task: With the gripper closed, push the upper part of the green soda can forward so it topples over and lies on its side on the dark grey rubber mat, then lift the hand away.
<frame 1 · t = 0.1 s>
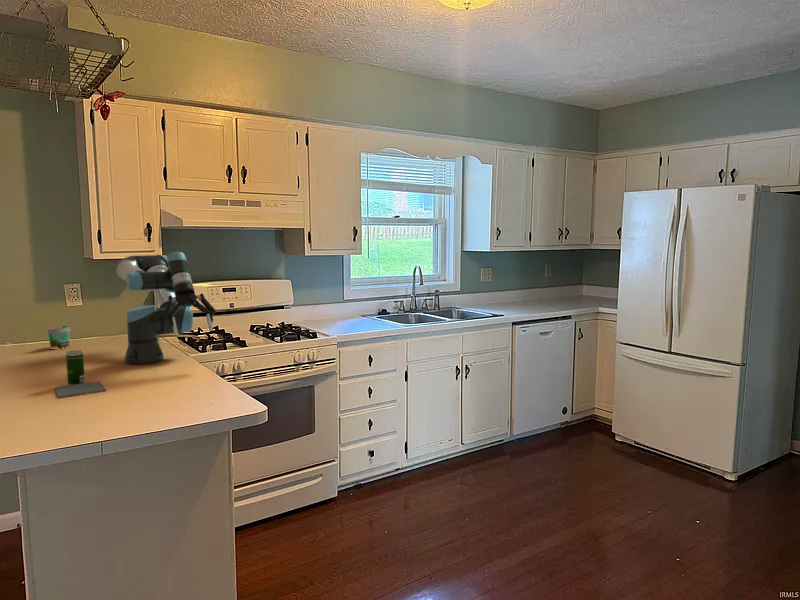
hand: (193, 331, 221), 15 cm above the countertop, tool tilted 35°, fingers open, 13 cm apart
food container: (63, 348, 270), on the countertop
green soda can: (76, 384, 201), on the countertop
rubber mat: (80, 390, 193), on the countertop
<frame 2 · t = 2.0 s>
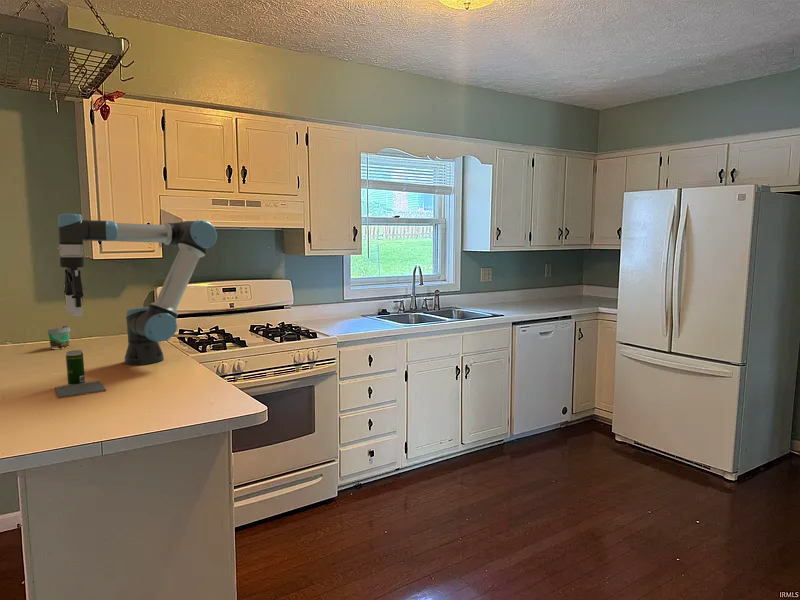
hand: (74, 314, 205), 25 cm above the countertop, tool pointing down, fingers open, 13 cm apart
nothing on the countertop moved.
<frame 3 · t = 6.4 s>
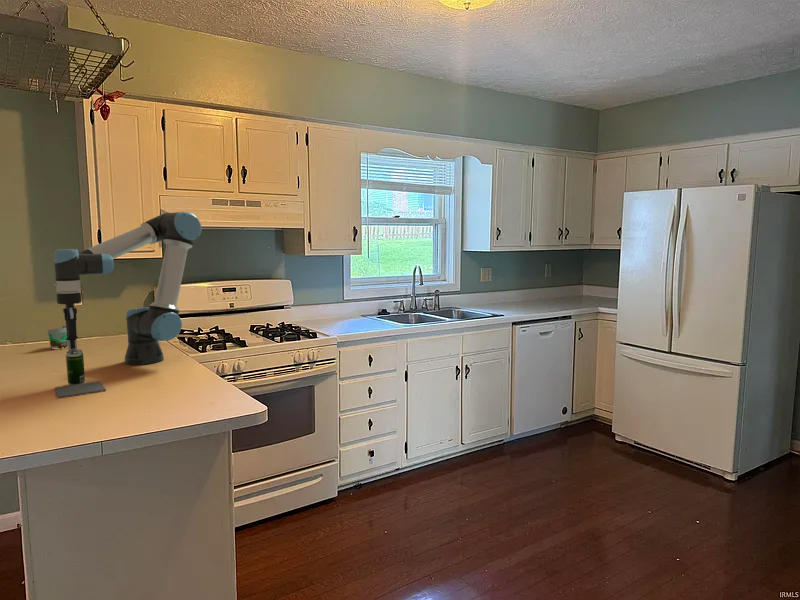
hand: (73, 357, 202), 10 cm above the countertop, tool pointing down, fingers closed
green soda can: (76, 383, 201), on the countertop, touching gripper
everything else where it was.
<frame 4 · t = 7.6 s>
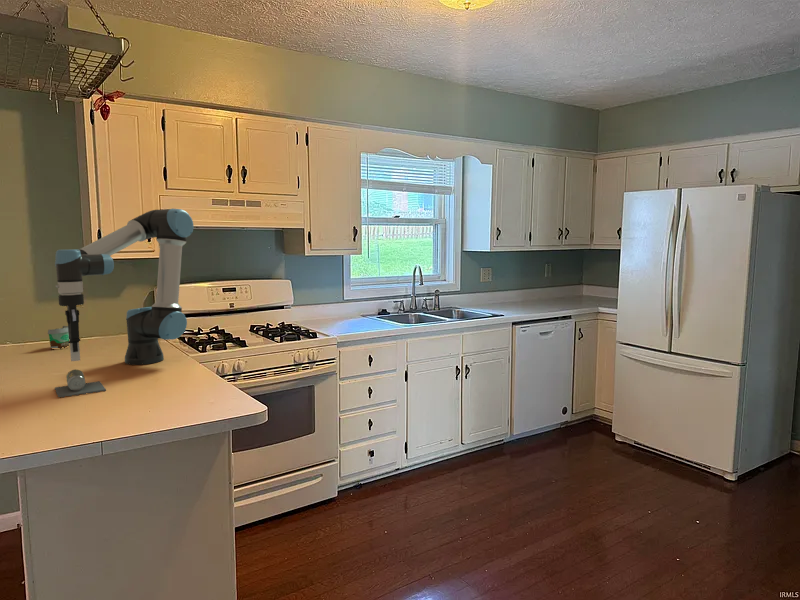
hand: (75, 360, 196), 10 cm above the countertop, tool pointing down, fingers closed
green soda can: (75, 376, 200), point 3 cm above the countertop, touching rubber mat
everything else where it was.
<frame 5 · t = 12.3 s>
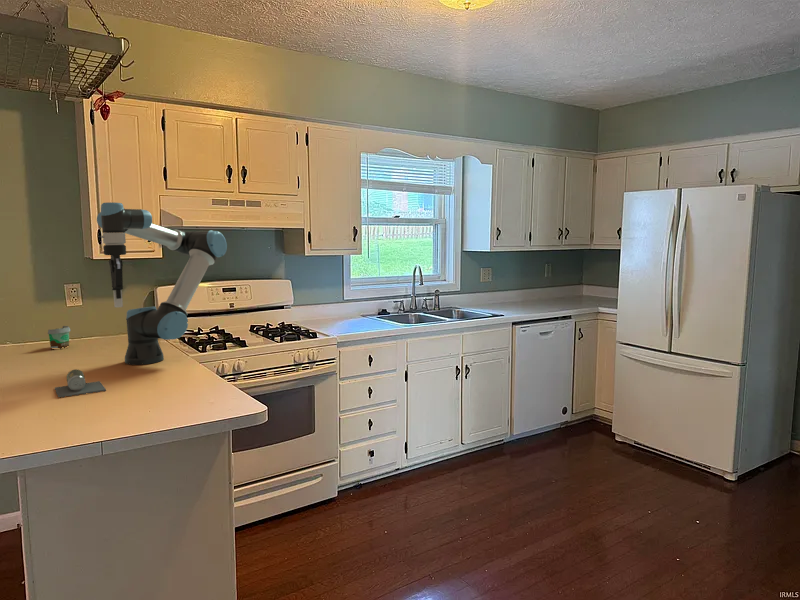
hand: (118, 307, 211), 26 cm above the countertop, tool pointing down, fingers closed
nothing on the countertop moved.
at the end: green soda can tilted 90°; green soda can inside the target area (2.0 cm from its centre), point 3.3 cm above the countertop; green soda can touching rubber mat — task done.
